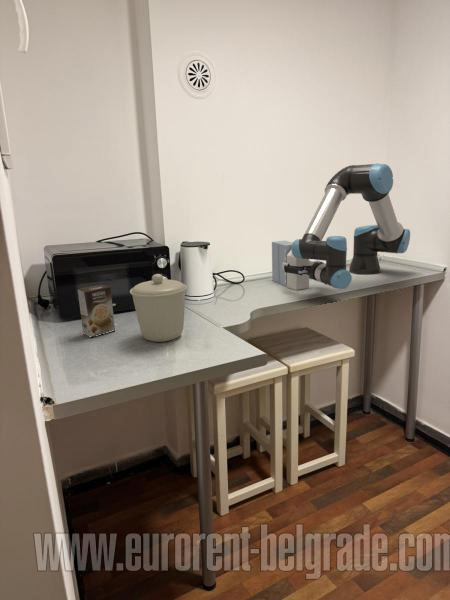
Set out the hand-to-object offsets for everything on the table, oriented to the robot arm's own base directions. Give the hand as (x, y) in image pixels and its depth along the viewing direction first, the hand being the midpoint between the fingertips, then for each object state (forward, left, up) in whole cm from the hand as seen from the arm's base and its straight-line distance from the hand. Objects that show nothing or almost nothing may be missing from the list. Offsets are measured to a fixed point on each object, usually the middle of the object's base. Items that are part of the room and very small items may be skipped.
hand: (294, 264), depth 195 cm
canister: (+70, +36, -11) cm, 79 cm away
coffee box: (+89, +22, -11) cm, 92 cm away
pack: (0, -9, -11) cm, 14 cm away
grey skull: (-19, -12, -11) cm, 24 cm away
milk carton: (0, +3, -11) cm, 11 cm away
